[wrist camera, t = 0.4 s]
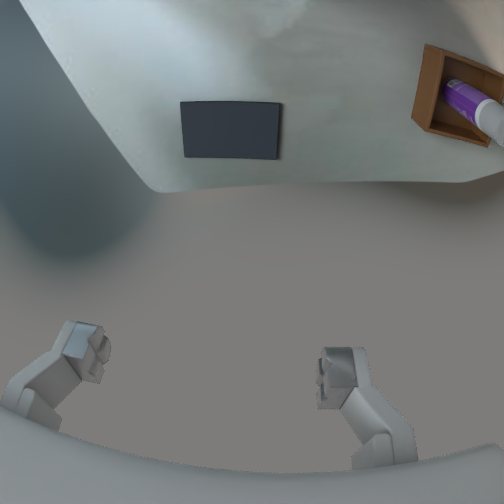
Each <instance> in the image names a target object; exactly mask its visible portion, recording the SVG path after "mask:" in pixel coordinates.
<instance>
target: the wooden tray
mask: <svg viewBox="0 0 504 504" xmlns="http://www.w3.org/2000/svg"><path fill="white" fill-rule="evenodd" d="M448 78H457V79H459V80H461V81H463V82H465V83H466V84H468V85H470V86H472V87H473V88H475V89H477V90H479V91H480V92H482V93H484V94H485V95H487V96H489V97H490V98H492V99H493V100H495V101H496V102H498V103H499V104H501V103H502V99H503V95H504V75H503V74H501V73H499V72H497V71H495V70H493V69H491V68H489V67H487V66H484V65H482V64H480V63H477V62H475V61H472V60H470V59H467V58H465V57H462V56H459V55H457V54H454V53H451V52H448V51H446V50H443V49H440V48H437V47H434V46H430V45H427V44H425V47H424V53H423V60H422V65H421V71H420V77H419V82H418V87H417V92H416V97H415V102H414V106H413V111H412V115H411V118H412V119H413V120H414V121H415V122H416V123H417V124H418V125H419V126H420V127H421V128H422V129H423V130H424V131H425V132H430V133H434V134H438V135H443V136H447V137H451V138H455V139H459V140H462V141H466V142H470V143H473V144H477V145H480V146H484V147H487V148H488V146H489V143H490V140H491V138H490V137H489V136H488V135H487V134H485V133H484V132H483V131H482V130H480V129H479V128H478V127H477V126H475V125H474V124H473V123H472V122H470V121H469V120H468V119H467V118H465V117H464V116H463V115H461V114H460V113H459V112H457V111H456V110H455V109H453V108H452V107H451V106H449V105H448V104H447V103H446V102H444V100H443V99H442V96H441V86H442V84H443V82H444V81H445V80H446V79H448Z"/></svg>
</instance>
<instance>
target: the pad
mask: <svg viewBox="0 0 504 504" xmlns="http://www.w3.org/2000/svg"><path fill="white" fill-rule="evenodd" d="M279 108H280V103H271V102H244V101H197V102H181V103H180V109H181V121H182V134H183V145H184V156H185V157H199V158H246V159H269V160H276V154H277V139H278V124H279Z"/></svg>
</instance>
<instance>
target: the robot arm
mask: <svg viewBox="0 0 504 504" xmlns="http://www.w3.org/2000/svg"><path fill="white" fill-rule="evenodd" d="M104 332H105V331H104V329H103V327H102V326H99V325H93V324H88V323H82V322H79V321H74V320H68V321H66V322H65V324H64V326H63V328H62V330H61V332H60V334H59V335H58V338H57V339H56V342H55V344H54V346H53V348H52V350H51V352H50V351H47V352H46V353H45V354H43V355H42V356H40V357H39V358H38V359H36V360H35V361H34V362H32V363H31V364H30V365H28V366H27V367H26V368H24V369H23V370H22V371H20V372H19V373H18V374H16V375H15V376H14V377H13V378H11V379H10V380H9V382H8V385H7V387H6V389H5V391H4V394H3V396H2V398H1V401H0V504H504V450H503V449H502V448H501V447H500V446H499V445H498V444H496V443H494V442H490V443H486V444H482V445H479V446H476V447H472V448H469V449H466V450H462V451H458V452H454V453H450V454H446V455H442V456H438V457H434V458H429V459H425V460H420V461H418V454H417V447H416V441H415V435H414V429H413V428H412V426H411V425H410V424H409V423H408V422H407V421H406V420H405V419H404V418H403V417H402V415H401V414H400V413H399V412H398V411H397V409H396V408H395V407H394V406H393V405H392V404H391V403H390V402H389V400H388V399H387V398H386V397H385V396H384V395H383V394H382V392H381V391H380V390H379V389H378V388H377V387H373V386H372V380H371V375H370V369H369V364H368V359H367V353H366V350H365V348H364V347H324V348H323V349H322V351H321V358H320V359H319V360H318V363H317V367H316V383H317V384H318V386H319V390H318V392H317V407H318V409H340V412H341V413H342V415H343V416H344V418H345V419H346V421H347V422H348V424H349V425H350V427H351V428H352V429H353V431H354V433H355V434H356V435H357V437H358V438H359V440H360V441H361V443H362V444H363V446H362V447H361V448H360V449H359V450H358V451H357V452H355V453H354V454H353V455H352V456H351V457H352V470H348V471H335V472H315V473H314V472H313V473H271V472H270V473H269V472H249V471H235V470H225V469H215V468H206V467H199V466H192V465H185V464H179V463H173V462H168V461H162V460H157V459H153V458H148V457H143V456H139V455H135V454H131V453H126V452H122V451H119V450H115V449H111V448H108V447H104V446H101V445H98V444H94V443H91V442H88V441H85V440H82V439H78V438H76V437H73V436H70V435H67V434H64V433H61V432H59V427H60V424H61V421H62V418H61V417H60V415H59V414H58V413H56V411H55V410H53V409H54V408H55V407H56V406H57V405H58V404H59V403H60V402H61V401H63V400H64V399H65V398H66V396H68V395H69V393H71V392H72V391H73V390H74V389H75V388H76V387H77V386H78V385H79V384H80V383H81V382H82V380H83V381H88V382H92V383H97V384H100V382H101V379H102V376H103V374H104V371H105V370H104V367H103V364H105V363H106V362H107V361H108V360H109V357H110V352H111V345H110V341H109V339H108V338H107V337H106V336H105V335H104Z"/></svg>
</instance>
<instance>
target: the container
mask: <svg viewBox="0 0 504 504" xmlns="http://www.w3.org/2000/svg"><path fill="white" fill-rule="evenodd" d="M441 96H442V99H443V100H444V102H446V103H447V104H448V105H449V106H451V107H452V108H453V109H455V110H456V111H457V112H459V113H460V114H461V115H463V116H464V117H465V118H467V119H468V120H469V121H470V122H472V123H473V124H474V125H475V126H477V127H478V128H479V129H480V130H482V131H483V132H484V133H485V134H487V135H488V136H489V137H490V138H492V139H493V140H494V141H495V142H497V143H498V144H499V145H500V146H501V147H503V148H504V107H503V106H502V105H501V104H499V103H498V102H496V101H495V100H493V99H492V98H490V97H489V96H487V95H485V94H484V93H482V92H480V91H479V90H477V89H475V88H473V87H472V86H470V85H468V84H466V83H465V82H463V81H461V80H459V79H457V78H448V79H446V80H445V81H444V82H443V84H442V86H441Z"/></svg>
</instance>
